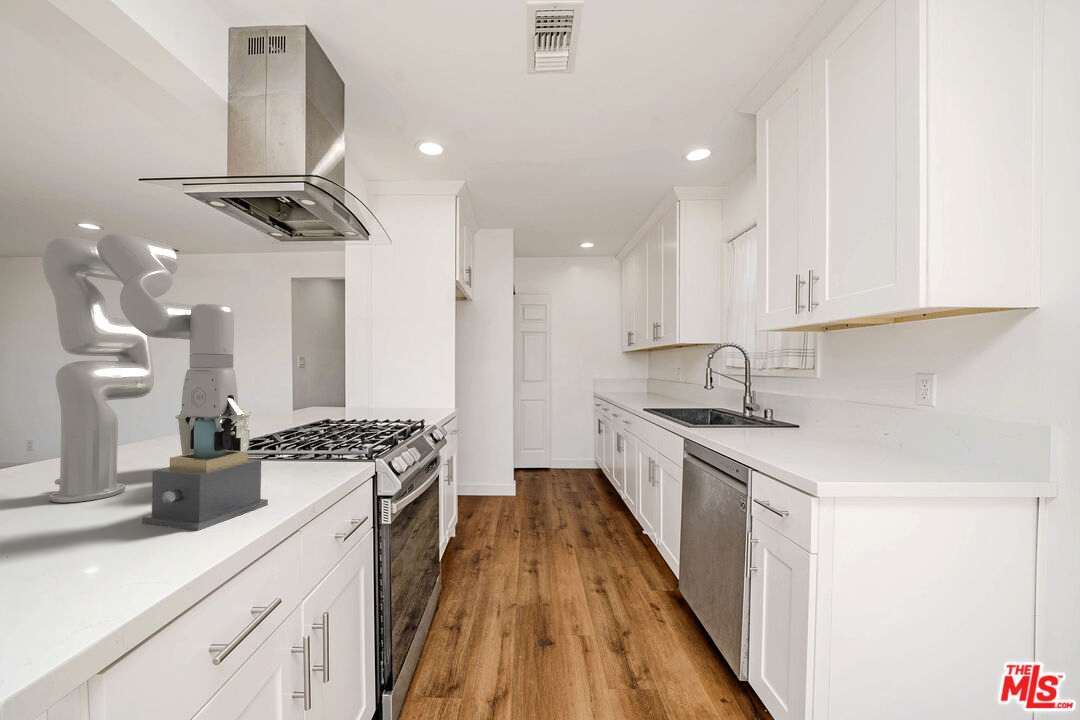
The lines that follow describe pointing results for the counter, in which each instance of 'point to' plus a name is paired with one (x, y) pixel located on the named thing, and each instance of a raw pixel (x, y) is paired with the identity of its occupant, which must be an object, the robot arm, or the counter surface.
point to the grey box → (205, 490)
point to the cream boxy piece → (239, 436)
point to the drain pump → (206, 439)
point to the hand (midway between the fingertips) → (210, 448)
